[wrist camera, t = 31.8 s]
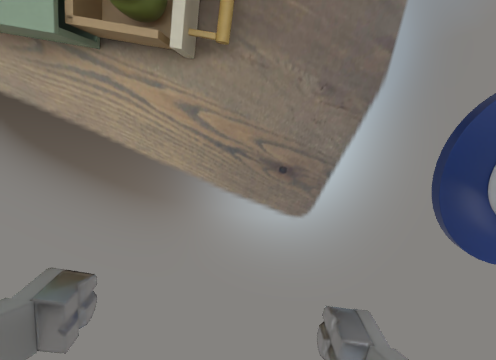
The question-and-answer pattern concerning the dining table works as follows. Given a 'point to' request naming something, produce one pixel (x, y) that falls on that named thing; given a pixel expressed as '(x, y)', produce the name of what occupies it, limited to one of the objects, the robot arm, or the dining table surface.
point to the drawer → (150, 24)
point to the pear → (141, 9)
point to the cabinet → (42, 22)
